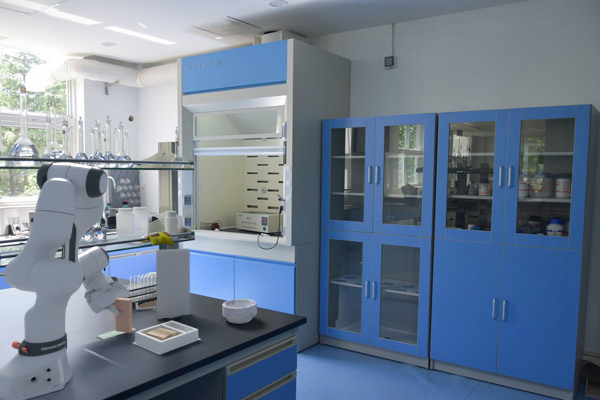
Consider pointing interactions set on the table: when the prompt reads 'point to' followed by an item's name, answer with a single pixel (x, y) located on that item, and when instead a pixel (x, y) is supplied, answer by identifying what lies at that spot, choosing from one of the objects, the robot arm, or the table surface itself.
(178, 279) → the brochure
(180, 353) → the table surface
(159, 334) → the offcut upper
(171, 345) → the white divided tray
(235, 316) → the paper bowls
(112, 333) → the sage mat
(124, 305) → the terracotta board
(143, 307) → the clipboard
